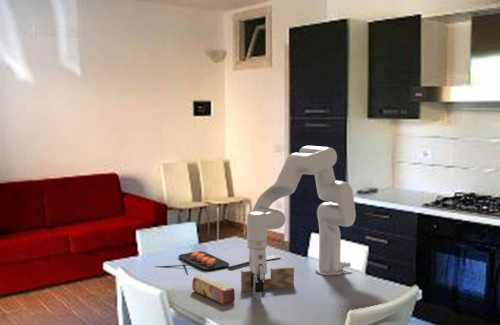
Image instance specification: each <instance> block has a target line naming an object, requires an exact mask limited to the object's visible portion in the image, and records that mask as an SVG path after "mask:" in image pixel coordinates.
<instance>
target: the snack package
mask: <svg viewBox="0 0 500 325" xmlns="http://www.w3.org/2000/svg"><path fill="white" fill-rule="evenodd" d="M191 286H192V290H193V291H194V292H195V293H198V294H200V295H202V296H204V297H207V298H209V299H210V300H213V301H215V302H217V303H219V304H220V305H223V306H228V305H231V304H233V303H234V302H235V300H236V299H235V298H236V297H235V296H236V295H235V292H236V291H235V288H234V287H232V286H229V285H227V284H224V283H222V282H220V281H218V280H215V279H213V278H211V277H210V276H207V275H205V274H198V275H196V276H194V277H193V278H192V285H191Z"/></svg>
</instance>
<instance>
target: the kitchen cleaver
mask: <svg viewBox="0 0 500 325" xmlns="http://www.w3.org/2000/svg"><path fill="white" fill-rule="evenodd" d="M270 255H271V256H269V255H266V261H271V260H273V259H274V260H275V259H280V258H282V256H281V255H273V254H270ZM247 266H248V267H249V260H246V261H243V262H242V263H237V264H234V265H229V266H227V270H229V271H232V270H233V271H234V270H237V269H241V268H244V267H245V268H246V267H247Z"/></svg>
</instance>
